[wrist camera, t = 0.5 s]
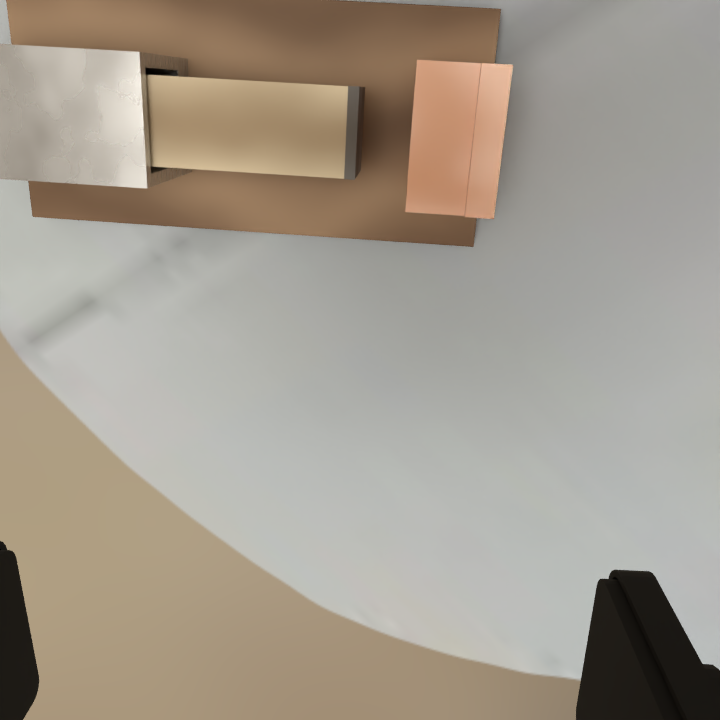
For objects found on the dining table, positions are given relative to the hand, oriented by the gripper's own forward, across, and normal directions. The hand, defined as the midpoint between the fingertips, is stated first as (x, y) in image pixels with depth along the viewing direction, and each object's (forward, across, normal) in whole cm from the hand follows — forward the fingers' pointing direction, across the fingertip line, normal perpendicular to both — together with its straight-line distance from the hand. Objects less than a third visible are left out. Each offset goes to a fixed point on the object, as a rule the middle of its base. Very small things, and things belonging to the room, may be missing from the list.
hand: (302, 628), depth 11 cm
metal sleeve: (+30, +15, -7) cm, 34 cm away
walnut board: (+32, +7, -7) cm, 33 cm away
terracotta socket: (+30, -4, -6) cm, 31 cm away
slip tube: (+28, +10, -7) cm, 30 cm away
